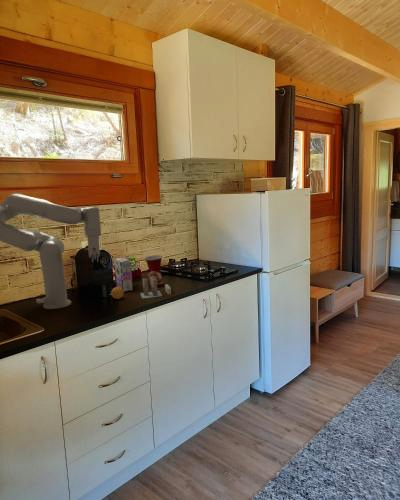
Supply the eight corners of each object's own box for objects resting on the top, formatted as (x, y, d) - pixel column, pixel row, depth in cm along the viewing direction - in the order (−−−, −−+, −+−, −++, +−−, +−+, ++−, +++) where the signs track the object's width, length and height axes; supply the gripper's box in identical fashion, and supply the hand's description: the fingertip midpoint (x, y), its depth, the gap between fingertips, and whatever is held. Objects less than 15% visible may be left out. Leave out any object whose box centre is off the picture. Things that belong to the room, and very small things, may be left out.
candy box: (133, 290, 203) (131, 260, 201) (122, 292, 201) (120, 261, 198) (126, 285, 216) (124, 256, 213) (116, 286, 213) (113, 258, 211)
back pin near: (153, 296, 190) (152, 279, 188) (152, 295, 192) (151, 278, 191) (158, 296, 190) (156, 279, 189) (157, 294, 193) (156, 278, 191)
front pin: (144, 296, 191) (142, 279, 190) (143, 295, 193) (142, 278, 192) (148, 295, 192) (147, 279, 190) (148, 294, 194) (147, 278, 192)
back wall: (168, 294, 192) (167, 288, 192) (165, 290, 201) (164, 284, 200) (171, 294, 193) (170, 288, 192) (168, 289, 201) (167, 284, 201)
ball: (112, 301, 185) (110, 289, 184) (111, 297, 191) (110, 286, 190) (124, 299, 187) (123, 287, 186) (123, 296, 193) (122, 284, 192)
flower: (141, 283, 210) (145, 273, 206) (150, 276, 217) (154, 266, 213) (155, 294, 208) (159, 283, 204) (163, 286, 216) (168, 276, 211)
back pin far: (151, 294, 194) (150, 277, 193) (151, 292, 197) (150, 276, 195) (156, 293, 195) (155, 277, 194) (155, 292, 197) (154, 276, 196)
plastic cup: (142, 276, 235) (140, 257, 233) (154, 273, 244) (153, 254, 242) (155, 278, 229) (153, 258, 227) (167, 274, 237) (165, 255, 235)
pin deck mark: (142, 298, 187) (142, 298, 187) (140, 293, 197) (140, 293, 197) (162, 296, 189) (162, 295, 189) (159, 291, 199) (159, 290, 199)
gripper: (85, 231, 189) (88, 265, 192) (84, 235, 172) (87, 272, 175) (100, 230, 191) (104, 264, 193) (101, 234, 174) (104, 271, 177)
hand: (96, 268), depth 184 cm, fingers open, 9 cm apart
